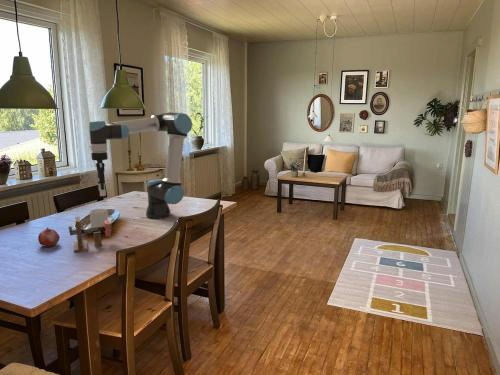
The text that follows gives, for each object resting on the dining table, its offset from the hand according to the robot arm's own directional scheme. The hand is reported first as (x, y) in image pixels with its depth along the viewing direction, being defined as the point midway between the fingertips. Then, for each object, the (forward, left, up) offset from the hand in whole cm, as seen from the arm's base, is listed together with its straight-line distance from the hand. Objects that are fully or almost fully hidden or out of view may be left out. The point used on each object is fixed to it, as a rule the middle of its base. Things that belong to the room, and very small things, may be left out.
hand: (102, 193), depth 190 cm
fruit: (+26, +1, -24) cm, 36 cm away
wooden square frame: (+13, +10, -24) cm, 29 cm away
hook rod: (+7, +10, -19) cm, 23 cm away
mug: (+1, -14, -24) cm, 28 cm away
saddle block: (+5, +10, -24) cm, 26 cm away
